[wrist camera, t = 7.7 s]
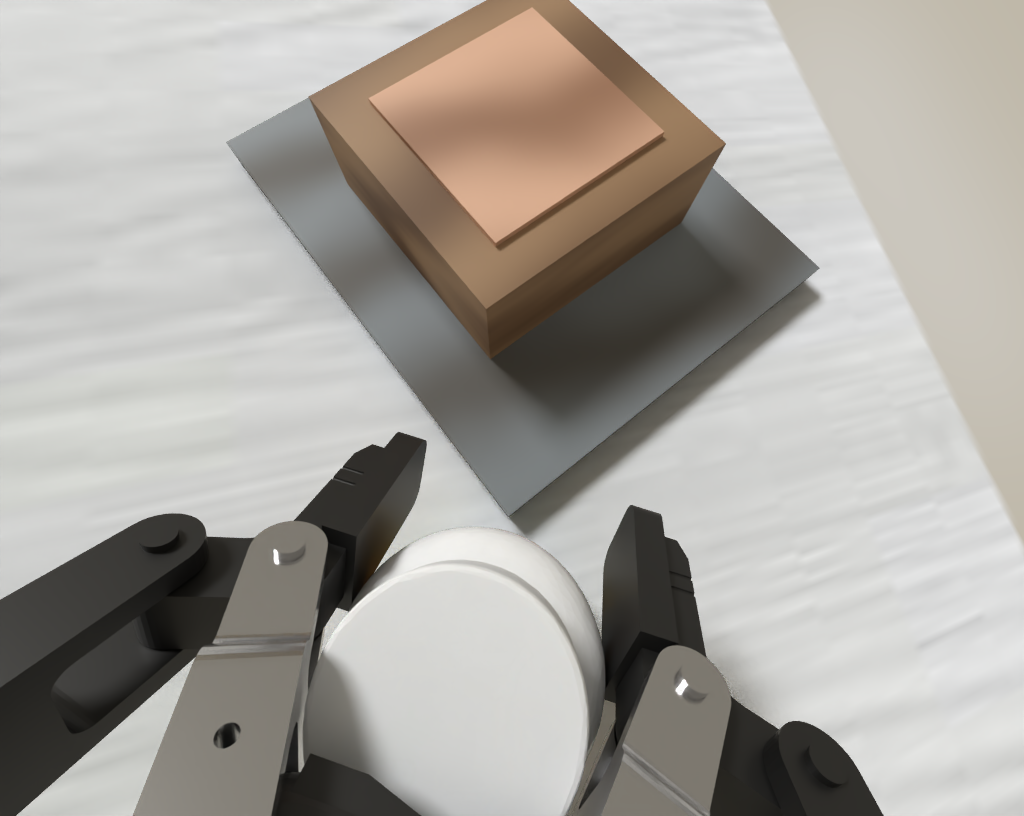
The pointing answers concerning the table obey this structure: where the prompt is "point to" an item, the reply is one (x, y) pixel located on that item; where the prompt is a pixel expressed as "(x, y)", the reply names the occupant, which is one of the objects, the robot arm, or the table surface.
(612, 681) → the robot arm
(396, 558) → the supplement bottle
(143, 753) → the table surface
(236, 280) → the table surface
